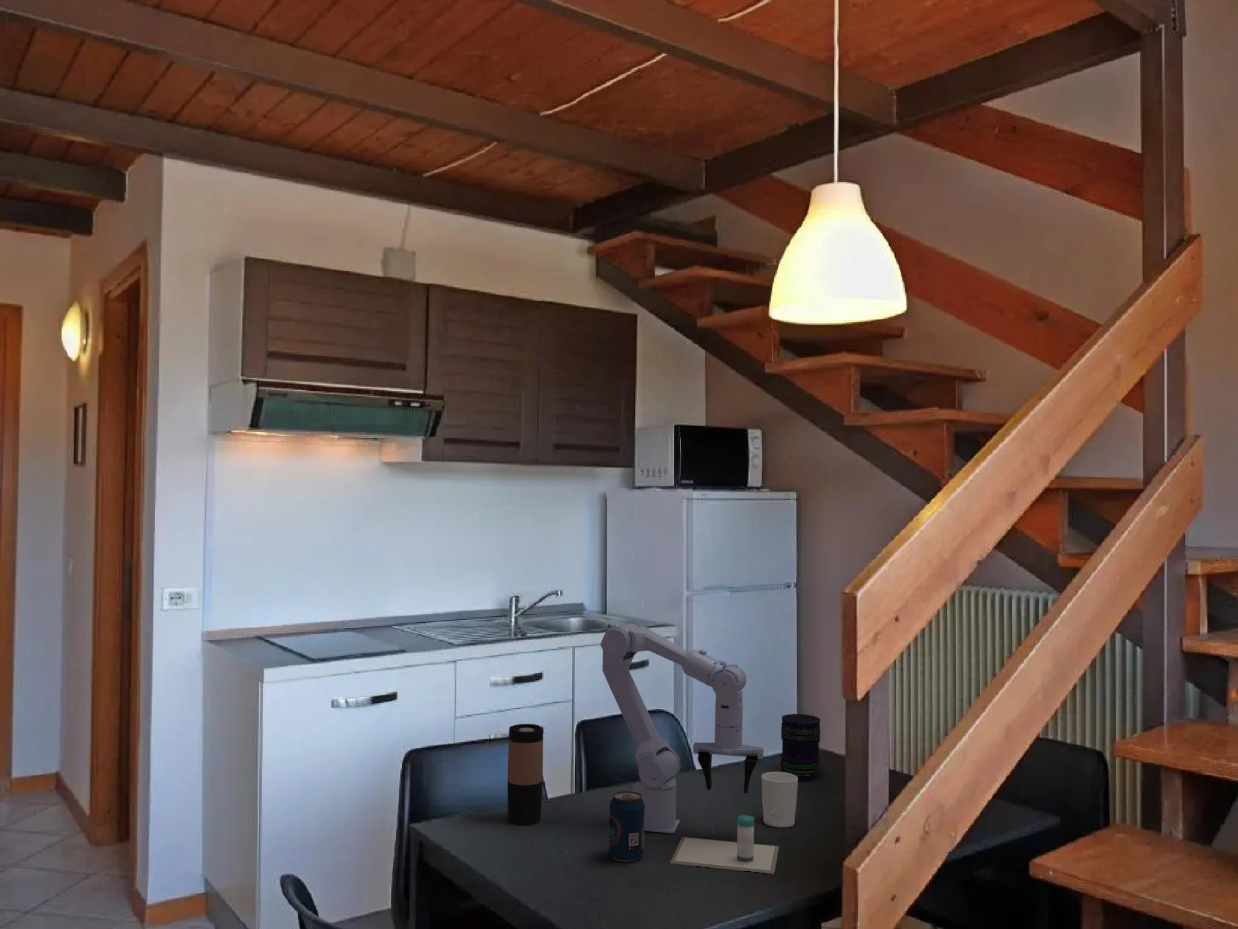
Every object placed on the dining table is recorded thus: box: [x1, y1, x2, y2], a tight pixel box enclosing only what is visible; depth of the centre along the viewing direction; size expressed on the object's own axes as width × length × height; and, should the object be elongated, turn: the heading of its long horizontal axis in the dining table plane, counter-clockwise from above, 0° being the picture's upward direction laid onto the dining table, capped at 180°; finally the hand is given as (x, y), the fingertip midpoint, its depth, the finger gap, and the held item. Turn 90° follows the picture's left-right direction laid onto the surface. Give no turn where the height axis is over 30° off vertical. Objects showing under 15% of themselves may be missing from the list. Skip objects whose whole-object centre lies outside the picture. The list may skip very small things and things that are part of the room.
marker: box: [736, 814, 755, 862], centre depth 195 cm, size 3×3×8 cm
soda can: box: [608, 790, 645, 863], centre depth 197 cm, size 7×7×12 cm
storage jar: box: [780, 713, 821, 784], centre depth 254 cm, size 10×10×15 cm
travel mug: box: [506, 723, 544, 826], centre depth 217 cm, size 8×8×20 cm
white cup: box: [761, 771, 799, 828], centre depth 219 cm, size 8×8×10 cm
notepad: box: [669, 836, 780, 875], centre depth 198 cm, size 20×15×1 cm
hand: (727, 790), depth 208 cm, fingers open, 7 cm apart
